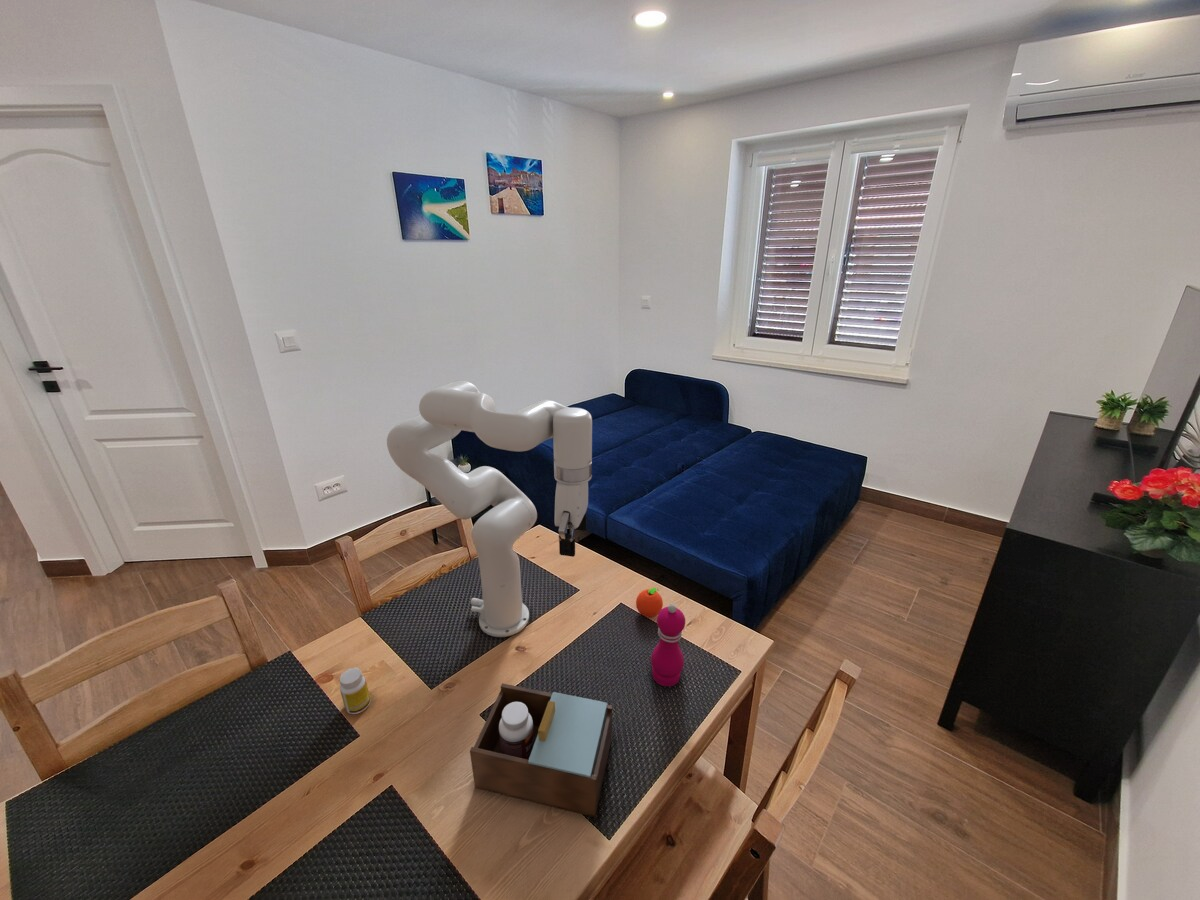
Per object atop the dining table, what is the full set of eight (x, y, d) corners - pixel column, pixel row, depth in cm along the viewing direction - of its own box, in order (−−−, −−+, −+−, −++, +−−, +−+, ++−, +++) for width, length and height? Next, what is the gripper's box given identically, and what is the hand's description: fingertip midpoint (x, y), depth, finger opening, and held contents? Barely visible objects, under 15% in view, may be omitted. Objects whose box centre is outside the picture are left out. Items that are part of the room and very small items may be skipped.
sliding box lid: (528, 763, 80) (527, 751, 79) (553, 693, 92) (552, 682, 91) (590, 778, 78) (590, 765, 77) (607, 704, 90) (607, 692, 89)
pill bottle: (533, 770, 88) (530, 728, 84) (499, 771, 88) (494, 729, 84) (535, 737, 94) (533, 697, 90) (503, 738, 94) (500, 698, 89)
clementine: (646, 598, 132) (647, 577, 129) (668, 609, 128) (670, 587, 125) (630, 615, 126) (631, 593, 123) (653, 627, 122) (655, 605, 119)
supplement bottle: (375, 700, 102) (368, 671, 99) (357, 718, 98) (348, 688, 95) (359, 691, 104) (351, 662, 100) (340, 709, 100) (331, 680, 96)
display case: (474, 787, 86) (469, 750, 82) (505, 718, 99) (502, 683, 95) (595, 817, 82) (595, 780, 78) (611, 741, 94) (612, 705, 90)
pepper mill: (681, 691, 105) (689, 620, 97) (648, 685, 106) (653, 614, 98) (682, 665, 111) (690, 596, 103) (651, 659, 113) (656, 591, 105)
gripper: (566, 451, 105) (567, 518, 112) (540, 487, 90) (544, 563, 96) (600, 454, 104) (599, 522, 110) (580, 492, 88) (580, 569, 95)
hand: (573, 541), depth 103 cm, fingers open, 9 cm apart
